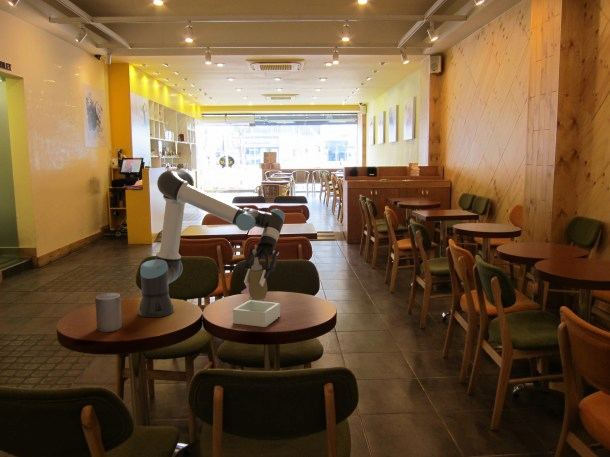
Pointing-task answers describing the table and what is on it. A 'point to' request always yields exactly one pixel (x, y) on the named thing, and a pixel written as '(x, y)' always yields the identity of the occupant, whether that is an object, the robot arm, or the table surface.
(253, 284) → the squeeze bottle
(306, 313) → the table surface
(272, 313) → the bin
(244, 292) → the lily
